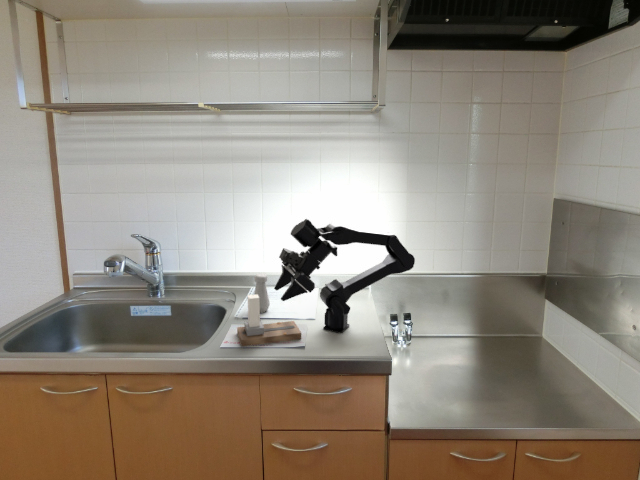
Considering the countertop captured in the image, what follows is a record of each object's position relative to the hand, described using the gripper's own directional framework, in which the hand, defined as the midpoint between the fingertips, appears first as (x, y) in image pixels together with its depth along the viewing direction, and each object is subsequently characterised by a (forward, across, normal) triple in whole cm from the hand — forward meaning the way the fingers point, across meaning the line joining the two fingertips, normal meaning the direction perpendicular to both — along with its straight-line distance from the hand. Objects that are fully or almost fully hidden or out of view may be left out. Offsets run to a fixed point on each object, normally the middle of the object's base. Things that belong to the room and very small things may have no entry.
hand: (278, 294), depth 133 cm
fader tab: (+13, 0, +2) cm, 13 cm away
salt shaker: (+11, -20, +8) cm, 25 cm away
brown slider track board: (+11, 0, +7) cm, 13 cm away
